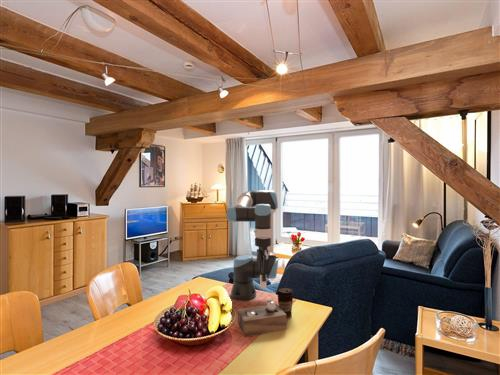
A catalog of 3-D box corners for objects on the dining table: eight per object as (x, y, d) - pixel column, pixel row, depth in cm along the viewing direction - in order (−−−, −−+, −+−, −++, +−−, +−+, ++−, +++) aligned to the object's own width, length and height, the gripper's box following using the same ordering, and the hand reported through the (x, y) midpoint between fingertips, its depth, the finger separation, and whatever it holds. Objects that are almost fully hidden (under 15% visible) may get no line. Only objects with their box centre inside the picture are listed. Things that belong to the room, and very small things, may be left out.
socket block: (237, 323, 133) (237, 309, 133) (276, 317, 139) (276, 303, 138) (244, 337, 121) (244, 321, 121) (286, 329, 127) (286, 314, 127)
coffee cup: (294, 319, 136) (294, 293, 136) (277, 319, 136) (277, 293, 136) (292, 311, 145) (292, 286, 145) (276, 311, 145) (276, 286, 145)
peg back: (266, 313, 133) (265, 300, 133) (273, 312, 134) (273, 299, 134) (269, 317, 129) (268, 304, 129) (277, 315, 130) (276, 303, 130)
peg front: (245, 323, 130) (245, 311, 130) (254, 322, 131) (254, 310, 131) (248, 328, 126) (248, 315, 126) (256, 326, 127) (256, 313, 127)
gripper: (251, 235, 135) (251, 283, 135) (259, 240, 122) (259, 293, 123) (266, 234, 137) (266, 282, 137) (275, 239, 124) (275, 291, 125)
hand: (263, 287), depth 130 cm, fingers closed
